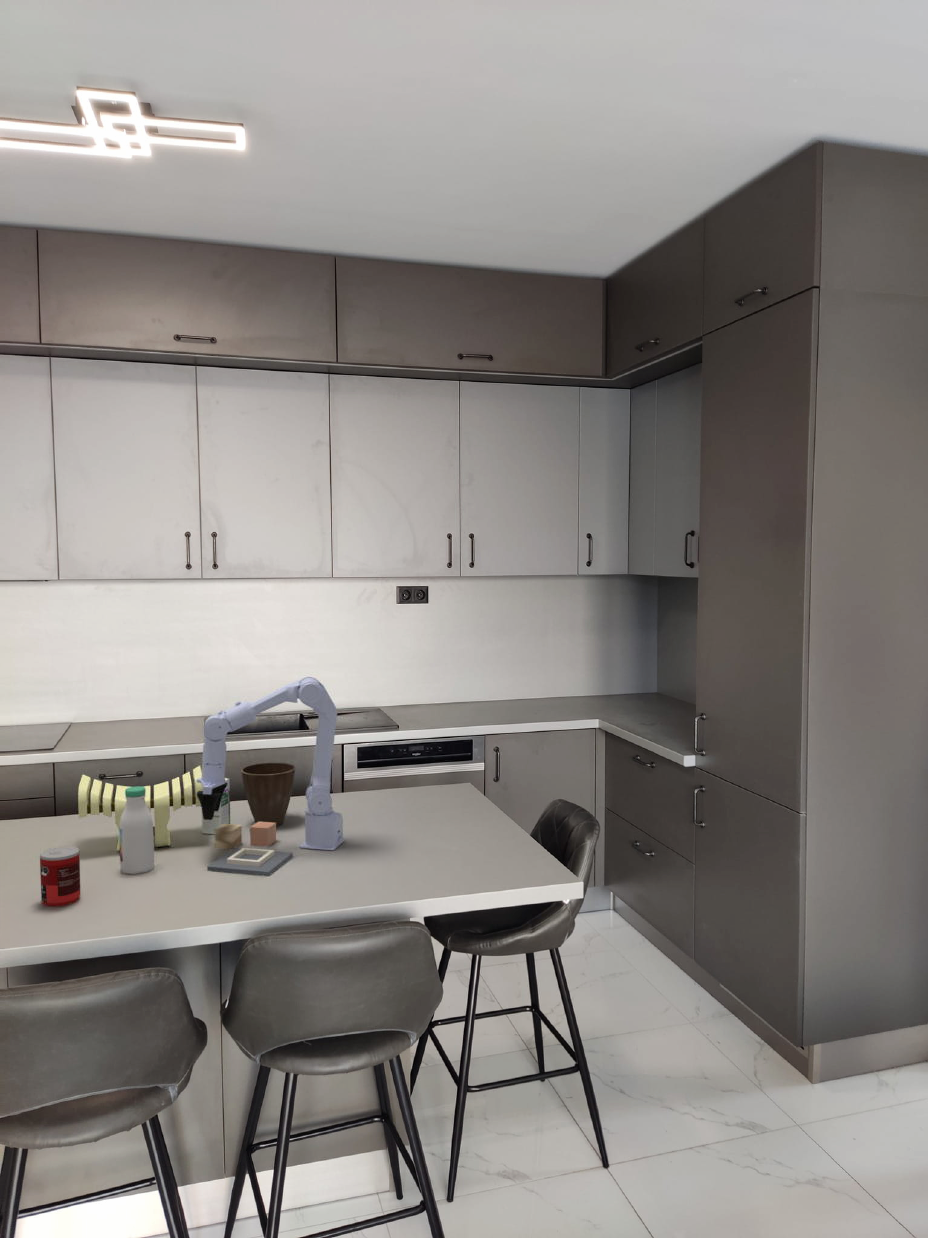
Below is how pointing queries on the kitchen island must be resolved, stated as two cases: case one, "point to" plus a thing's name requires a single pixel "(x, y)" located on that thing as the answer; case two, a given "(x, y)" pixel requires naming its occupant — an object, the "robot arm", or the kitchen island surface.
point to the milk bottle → (136, 833)
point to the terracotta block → (262, 834)
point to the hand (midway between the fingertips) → (211, 815)
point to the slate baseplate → (250, 861)
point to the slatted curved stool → (159, 802)
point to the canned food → (60, 876)
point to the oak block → (228, 836)
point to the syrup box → (219, 813)
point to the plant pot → (268, 790)
